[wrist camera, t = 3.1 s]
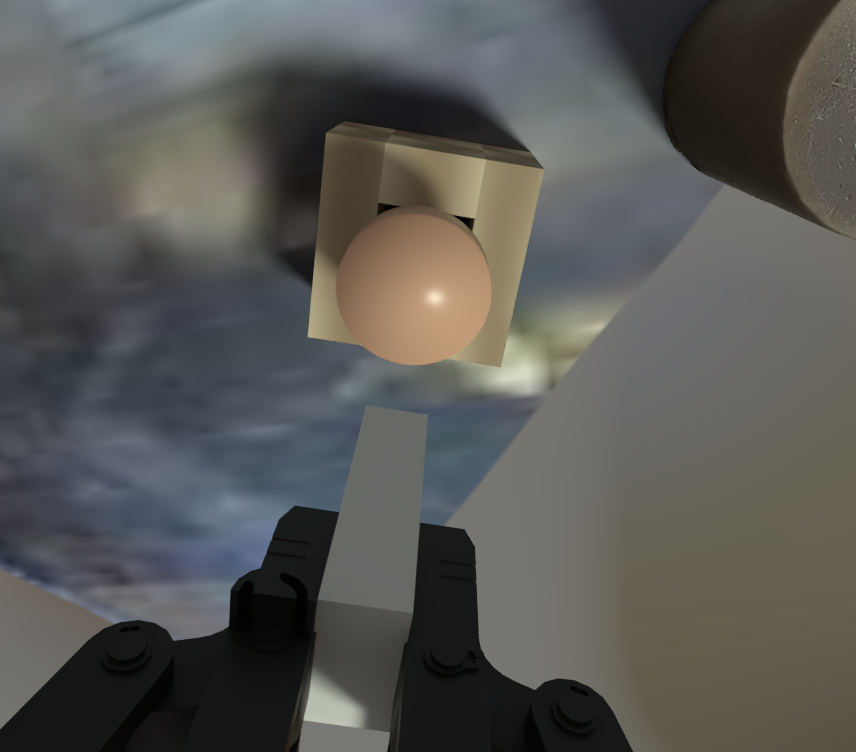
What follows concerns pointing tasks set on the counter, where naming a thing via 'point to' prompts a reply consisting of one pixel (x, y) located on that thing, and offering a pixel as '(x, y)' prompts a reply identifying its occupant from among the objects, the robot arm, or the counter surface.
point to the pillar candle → (771, 103)
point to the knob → (414, 285)
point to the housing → (434, 187)
